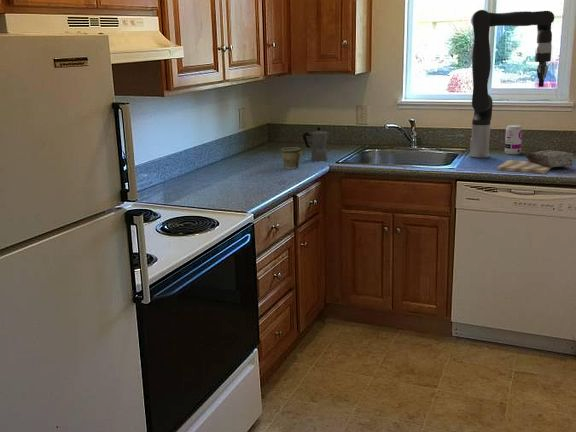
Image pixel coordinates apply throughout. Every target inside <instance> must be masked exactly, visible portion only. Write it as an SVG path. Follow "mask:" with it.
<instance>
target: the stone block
mask: <svg viewBox="0 0 576 432" xmlns="http://www.w3.org/2000/svg"><path fill="white" fill-rule="evenodd" d="M525 156H526V159H527V161H530V162H533V163H536V164H540V165H542V166H546V167H552V168H560V167H572V166H573V163H574V162H573V161H574V159H573V158H574V156H573V152H565V151H559V150H550V149H540V150H539V149H538V150H532V151H527V152H526V153H525Z"/></svg>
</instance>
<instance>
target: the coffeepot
mask: <svg viewBox="0 0 576 432" xmlns="http://www.w3.org/2000/svg"><path fill="white" fill-rule="evenodd" d="M330 135H331V132H330V131H329V132H328V131H324V130H321V127H319V126H318V127H317V130H315V131H312V132H311V131H309V132H304V134H303V135H302V138H303V141H304V144H305V146H306V148H311V146H312V150H311V157H310V161H311V160H312V161H311V162H314V161H323V162H326V160H327V161H328V154H327V148H326V145H327V140H328V138H329V136H330ZM307 137H310V140H311V145H309V143H308V139H307Z"/></svg>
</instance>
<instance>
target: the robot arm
mask: <svg viewBox="0 0 576 432" xmlns="http://www.w3.org/2000/svg"><path fill="white" fill-rule="evenodd" d="M554 21H555V14H554V12H552V11H551V10H539V11H538V10H537V11H527V10H526V11H511V12H499V13H497V12H488V11H487V10H485V9H479V10H477V11H475V12H474V13H473V14H472V16H471V19H470V23H471V26H472V30H473V44H472V53H471V70H472V71H471V73H472V85H473V86H472V98H471V106H472V109H473V111H474V113H473V117H472V120H471V121H472V124H471V138H470V139H469V157H471V158H489V155H490V154H489V151H490V137H491V136H490V135H491V134H490V133H491V121H492V115H493V98H492V96H491V95H490V94H489V91H488V89H489V88H488V84H489V78H490V73H491V62H492V61H491V58H492V57H491V45H490V30H491V29H490V27H491V28H492V27H499V26H503V27H505V26H506V27H507V26H509V27H528V26H530V27H531V26H536V29H537V30H536V31H537V35H536V44H535V53H534V54H535V56H534V57H535V58H534V62H535V63H538V65H537V69H536V75H537V79H538V87H539V88H543V87H544V86H545V79H546V76H547V72H548V65H547V63H549V62H551V61H552V49H553V46H552V41H553V39H552V38H553V32H552V23H553V22H554Z"/></svg>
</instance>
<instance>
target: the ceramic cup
mask: <svg viewBox="0 0 576 432" xmlns="http://www.w3.org/2000/svg"><path fill="white" fill-rule="evenodd" d="M280 151H281V156H282V159H283V164H284V168H285V169H286V168H287V169H286V170H296V169H295V168H297V169H299V162H300V160H301V159H302V158H303V157H304V156H305V152H304V151H303V150H301V148H300V147H297V146H296V147H295V146H294V147H292V146H291V147H282V148H281V149H280ZM301 153H302V154H303V155H302V156H301Z"/></svg>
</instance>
